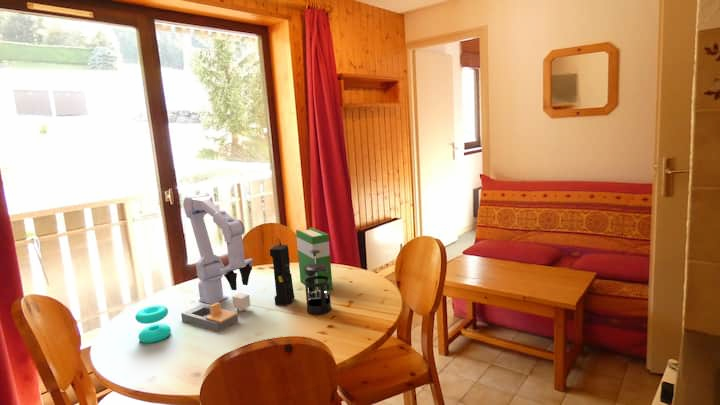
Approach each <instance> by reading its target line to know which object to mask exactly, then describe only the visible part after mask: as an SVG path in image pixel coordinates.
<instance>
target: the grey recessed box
mask: <svg viewBox="0 0 720 405" xmlns="http://www.w3.org/2000/svg"><path fill="white" fill-rule="evenodd" d="M222 309H223V308H221V310H222ZM180 315H181V322H185V323H187V324H191V325H194V326H197V325H198V326H197V327H202V328H203V329H204V328H205V329H208V330H211V331H215V332H220V331H222V330H224V329H226V328H228V327H229V326H232V325H234V324H235V323H238V321H239V318H238V315H236V316H234V317H232V318H230V319H228V320H226V321H224V322H222V323H219V322H216V321H212V320H209V319H206V317H207V316H209V315H211V314H210V305H206V304H205V305H204V304H202V303H201V304H199V305H197V306H195V307H192V308H190V309H189V310H188V309H187V310H186V311H183V312H181V313H180Z"/></svg>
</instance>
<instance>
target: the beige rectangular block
mask: <svg viewBox="0 0 720 405" xmlns="http://www.w3.org/2000/svg"><path fill="white" fill-rule="evenodd" d="M231 297H232V299H231V300H232V306H233V307H232V308H234V309H236V311H237V312H236V313H239V312H240V311H243V312H246V311H247V310H246V309H247V308H250V307H251V299H250V298H251V296H250V294H248V293H247V294H246V293H241V292H239V293H237V294H234V295H233V296H231Z"/></svg>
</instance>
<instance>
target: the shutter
mask: <svg viewBox="0 0 720 405" xmlns="http://www.w3.org/2000/svg"><path fill="white" fill-rule="evenodd" d="M209 306H210V314H211V315H209V316H207V317H206V319H209V320H212V321H216V322H219V323H222V322H224V321H226V320H228V319H230V318H232V317H234V316H236V315H237V316H238V314H239V312H236V311H232V310H228V309H223V308H221V306H222V305H221V302H220V301H219V302H217V303H214V304H210V305H209ZM221 309H222V310H221Z"/></svg>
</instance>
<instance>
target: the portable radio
mask: <svg viewBox="0 0 720 405" xmlns="http://www.w3.org/2000/svg"><path fill="white" fill-rule="evenodd" d="M278 240H279V243H278V244H277V245H274V246H273V247H272V248H270V249H269V255H270V257H271V258H272V265H273V275H274V286H275V287H274V288H275V294H276V295H275V296H274V305H276V306H278V305H279V306H289V305H290V304H291V303H292V302H293V300H294V299H295V298H296V296H295V292H294V285H293V277H292V273H291V269H290V265H291V264H290V253H289V252H290V251H289V246H288V244H282V242H281V239H280V238H279V239H278Z"/></svg>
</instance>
